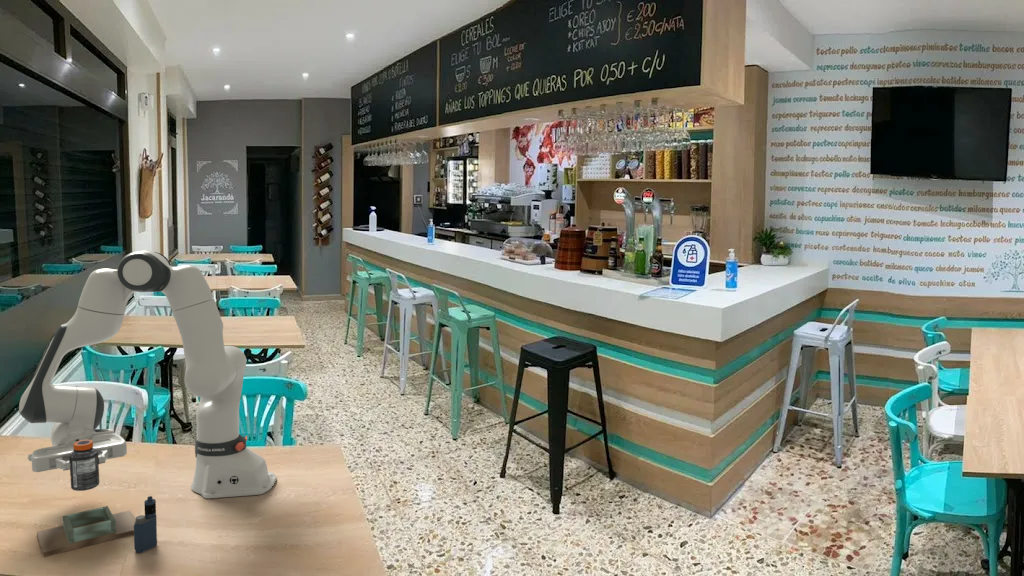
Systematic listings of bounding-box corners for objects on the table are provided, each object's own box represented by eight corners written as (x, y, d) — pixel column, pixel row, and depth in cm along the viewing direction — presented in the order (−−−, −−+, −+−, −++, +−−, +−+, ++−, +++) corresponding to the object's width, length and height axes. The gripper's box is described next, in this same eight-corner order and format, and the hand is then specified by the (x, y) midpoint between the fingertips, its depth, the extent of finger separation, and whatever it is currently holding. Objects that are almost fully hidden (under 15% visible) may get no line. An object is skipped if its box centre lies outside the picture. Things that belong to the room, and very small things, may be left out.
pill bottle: (79, 481, 173) (77, 437, 171) (104, 481, 173) (102, 437, 172) (65, 491, 167) (63, 446, 165) (91, 491, 167) (89, 446, 166)
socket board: (130, 513, 180) (129, 499, 179) (141, 532, 171) (140, 516, 170) (36, 535, 167) (35, 519, 166) (43, 556, 158) (42, 539, 157)
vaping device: (159, 544, 165) (158, 496, 163) (139, 554, 160) (138, 504, 159) (152, 542, 166) (150, 494, 165) (132, 551, 161) (130, 502, 160)
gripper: (26, 442, 172) (32, 460, 162) (119, 427, 185) (130, 443, 175) (27, 467, 173) (33, 486, 162) (120, 450, 186) (131, 467, 175)
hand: (84, 463), depth 169 cm, fingers closed on pill bottle, 6 cm apart
